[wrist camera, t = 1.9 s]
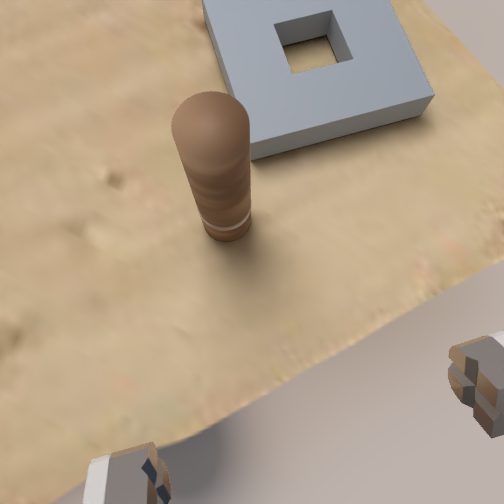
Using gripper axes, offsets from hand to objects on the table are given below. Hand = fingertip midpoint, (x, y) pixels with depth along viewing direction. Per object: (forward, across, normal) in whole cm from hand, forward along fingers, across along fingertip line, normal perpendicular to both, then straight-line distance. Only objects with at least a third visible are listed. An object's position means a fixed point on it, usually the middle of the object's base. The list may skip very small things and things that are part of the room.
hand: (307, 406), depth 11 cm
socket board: (+28, -10, -4) cm, 30 cm away
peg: (+20, 0, +3) cm, 20 cm away
